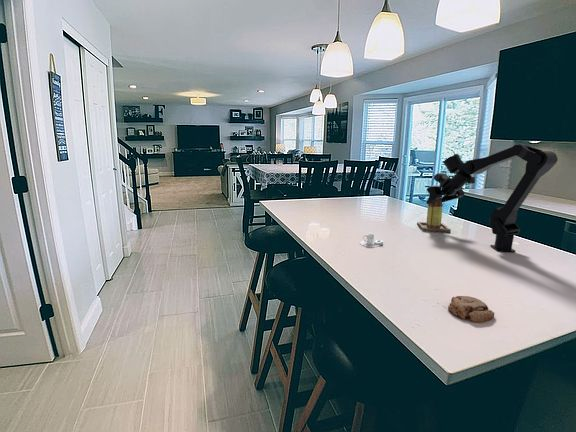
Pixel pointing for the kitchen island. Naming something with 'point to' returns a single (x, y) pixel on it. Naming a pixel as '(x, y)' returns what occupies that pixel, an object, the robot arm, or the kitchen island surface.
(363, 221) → the kitchen island surface
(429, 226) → the sauce bottle
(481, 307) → the cookie
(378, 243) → the teacup and saucer
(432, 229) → the square brown tray
